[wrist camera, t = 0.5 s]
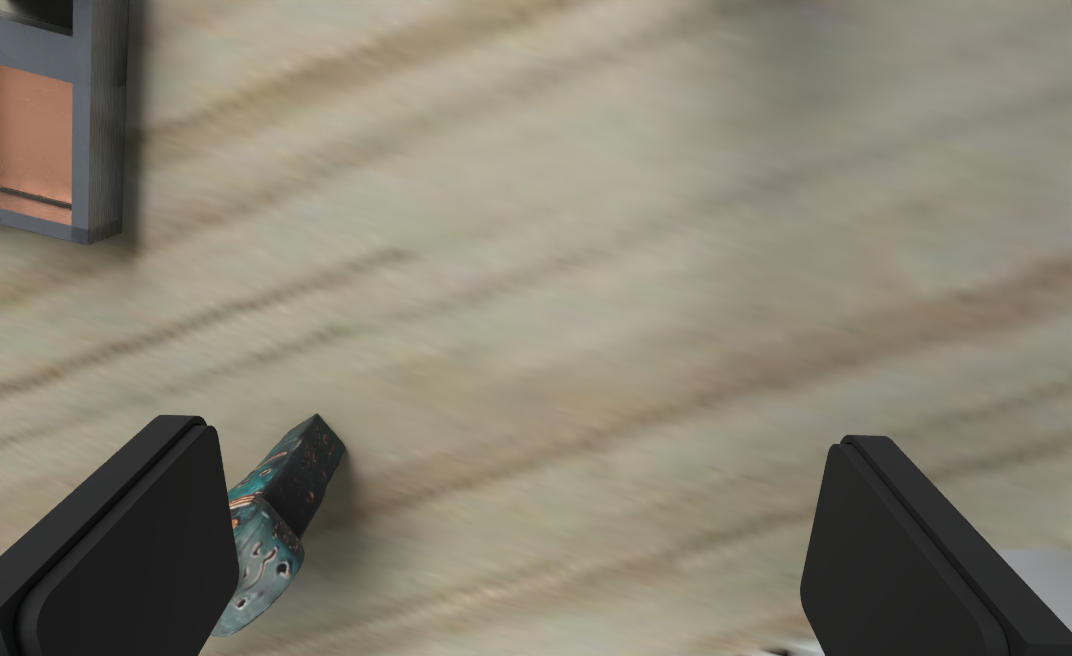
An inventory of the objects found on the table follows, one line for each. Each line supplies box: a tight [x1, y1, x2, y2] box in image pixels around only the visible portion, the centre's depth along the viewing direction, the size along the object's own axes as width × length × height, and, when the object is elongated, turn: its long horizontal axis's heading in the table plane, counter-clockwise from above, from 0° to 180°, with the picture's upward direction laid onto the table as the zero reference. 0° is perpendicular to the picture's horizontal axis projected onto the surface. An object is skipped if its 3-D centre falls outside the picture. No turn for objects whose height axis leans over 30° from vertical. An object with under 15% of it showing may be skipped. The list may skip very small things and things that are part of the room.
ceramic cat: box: [210, 414, 345, 636], centre depth 43 cm, size 20×6×20 cm, turn 124°
